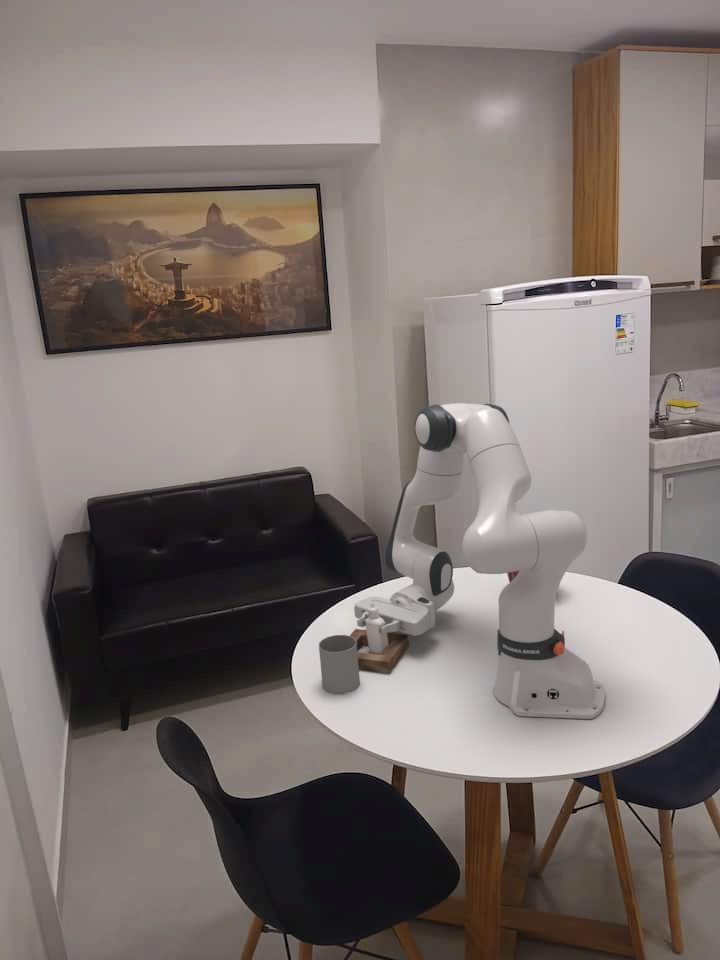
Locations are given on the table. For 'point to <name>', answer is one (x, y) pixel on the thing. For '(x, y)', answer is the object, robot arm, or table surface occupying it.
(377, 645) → the eye dropper bottle
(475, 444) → the robot arm
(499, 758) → the table surface
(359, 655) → the socket block
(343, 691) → the cup
